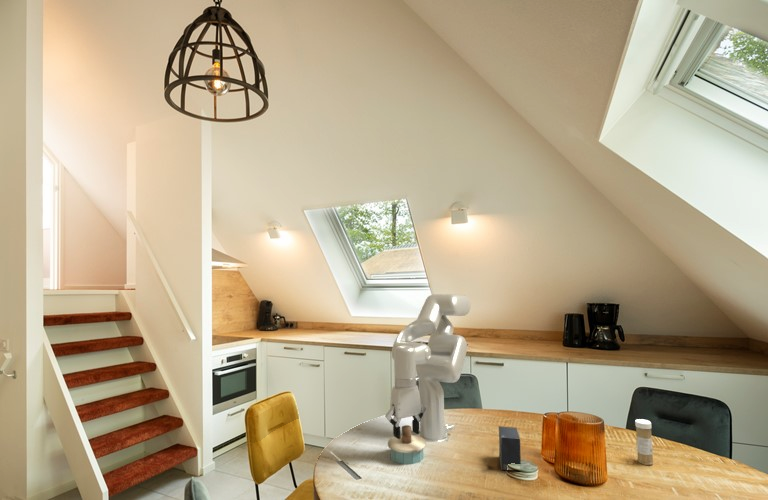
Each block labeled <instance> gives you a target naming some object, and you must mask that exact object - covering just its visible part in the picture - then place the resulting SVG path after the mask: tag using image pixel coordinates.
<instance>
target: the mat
mask: <svg viewBox="0 0 768 500" xmlns="http://www.w3.org/2000/svg"><path fill="white" fill-rule="evenodd" d="M336 463H337V464H338V465H340V466H341V468H342V469H344V470H345V471H346V472H348V474H349V475H351V476H352V477H353V478H354V479H355V480H356V481H357V480H360V479H362V477H361V476H360V475H359V474H358V473H357V472H356V471H354V470H353V469H352V468H351V467H350V466H349V465H348V464H346V463H345V462H344V460H342V459H341V460H337V461H336Z"/></svg>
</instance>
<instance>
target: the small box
mask: <svg viewBox="0 0 768 500" xmlns="http://www.w3.org/2000/svg"><path fill="white" fill-rule="evenodd" d="M498 436H499V437H498V443H499V444H498V445H499V446H498V447H499V452H498V454H499V456H498V457H499V465H500V470H501V471H508V470H507V465H508V464H511V463H515V464H522V457H521V455H522V454H521V453H522V452H521V451H522V450H521V438H520V435H519V431H518V427H513V426H512V427H511V426H510V427H509V426H499V425H498Z"/></svg>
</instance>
